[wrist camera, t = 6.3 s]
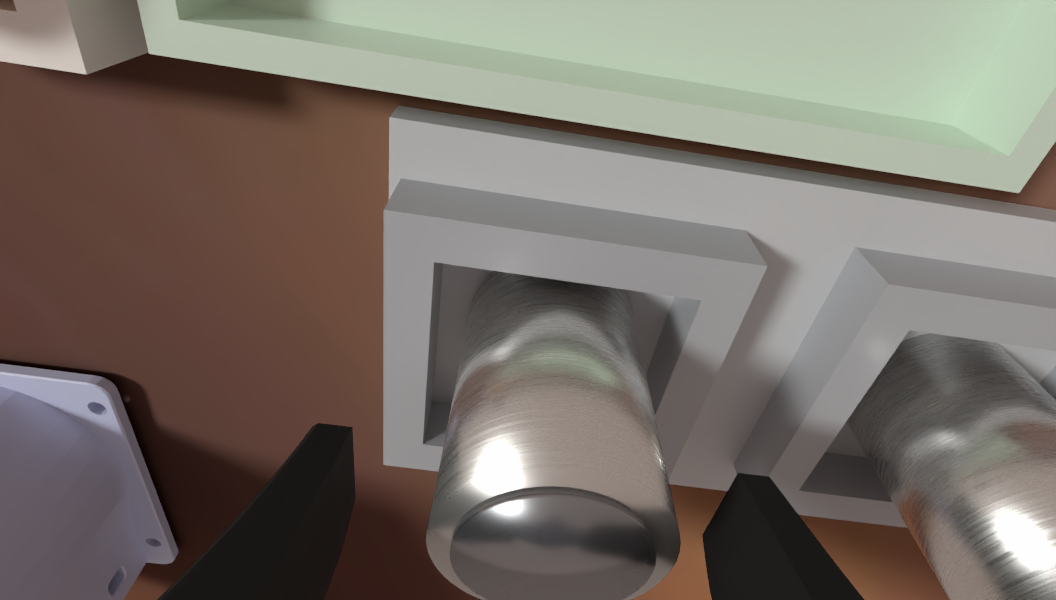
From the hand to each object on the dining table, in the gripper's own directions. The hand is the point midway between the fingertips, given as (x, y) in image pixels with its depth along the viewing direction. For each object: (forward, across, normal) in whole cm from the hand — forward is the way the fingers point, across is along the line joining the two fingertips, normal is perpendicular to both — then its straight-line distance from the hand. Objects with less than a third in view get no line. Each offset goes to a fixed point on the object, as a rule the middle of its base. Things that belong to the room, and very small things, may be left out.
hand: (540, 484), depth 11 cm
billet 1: (+4, 0, -1) cm, 4 cm away
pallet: (+5, -5, 0) cm, 7 cm away
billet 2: (+4, -10, 0) cm, 11 cm away
